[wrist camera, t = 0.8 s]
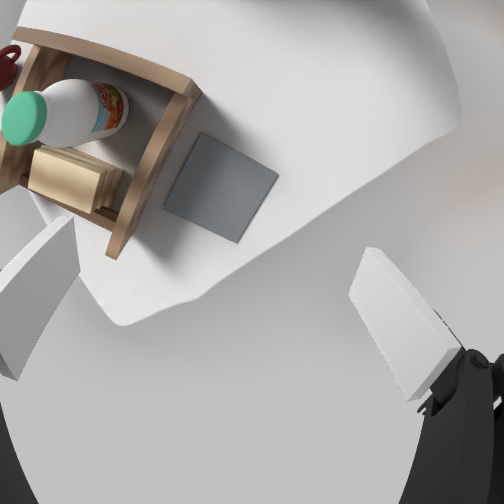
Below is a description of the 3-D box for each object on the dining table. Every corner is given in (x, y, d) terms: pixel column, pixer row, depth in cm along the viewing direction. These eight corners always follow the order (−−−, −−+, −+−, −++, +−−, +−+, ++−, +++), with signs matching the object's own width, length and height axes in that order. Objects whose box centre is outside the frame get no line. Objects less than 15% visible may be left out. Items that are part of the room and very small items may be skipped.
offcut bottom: (56, 140, 33) (48, 143, 30) (125, 168, 36) (119, 172, 34) (48, 173, 35) (40, 177, 32) (113, 202, 38) (107, 207, 36)
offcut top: (44, 146, 28) (34, 149, 26) (107, 169, 31) (100, 173, 29) (37, 183, 30) (27, 188, 28) (97, 207, 34) (90, 213, 31)
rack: (71, 43, 25) (17, 26, 13) (202, 91, 32) (191, 78, 20) (22, 176, 33) (-32, 204, 21) (134, 231, 40) (103, 282, 28)
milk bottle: (115, 145, 34) (34, 179, 16) (74, 126, 32) (-19, 148, 14) (140, 96, 31) (67, 85, 14) (97, 78, 29) (8, 64, 11)
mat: (201, 132, 35) (201, 133, 35) (277, 173, 39) (278, 174, 38) (163, 207, 39) (163, 208, 39) (236, 242, 43) (236, 243, 43)
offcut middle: (50, 143, 30) (41, 145, 28) (116, 168, 34) (109, 171, 32) (42, 177, 32) (33, 181, 30) (105, 203, 36) (98, 209, 34)
